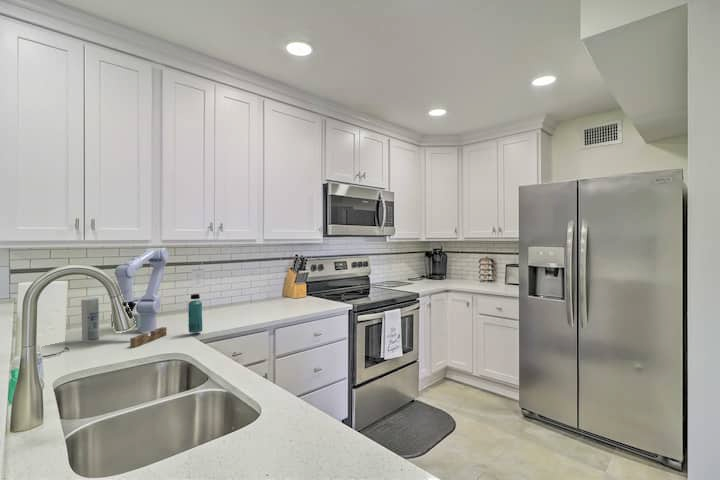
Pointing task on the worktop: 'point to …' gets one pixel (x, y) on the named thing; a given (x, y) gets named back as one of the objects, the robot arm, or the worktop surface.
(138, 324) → the slotted plate
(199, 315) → the beverage bottle
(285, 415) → the worktop surface
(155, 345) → the worktop surface
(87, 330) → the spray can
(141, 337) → the slotted board
